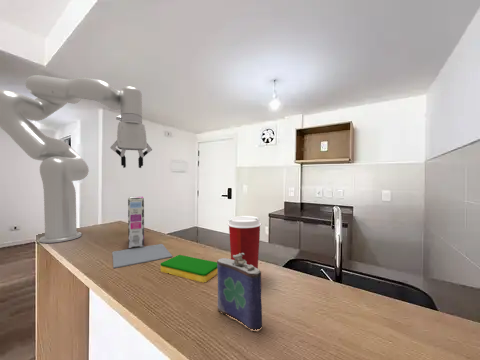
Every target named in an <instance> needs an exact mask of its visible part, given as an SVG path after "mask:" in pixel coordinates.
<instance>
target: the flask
mask: <svg viewBox="0 0 480 360" xmlns="http://www.w3.org/2000/svg"><path fill="white" fill-rule="evenodd" d="M241 254H242V255H244V253H239V254H237V255H233V258H234V259H235V260H231V258H228V257H222V258H219V259H217V261H216V262H217V268H218V274H217V310H219V311H220V312H222V313H225V314H227V315H229V316H231V317H233V318H235V319H237V320H238V321H240V322H242V323H243V324H244V325H246V326H247V327H248V328H250V329H253V330H255V329H256V330H257V329H260V328H261V327H262V328H263V312H262V311H263V310H262V309H263V307H262V271H261V270H260V269H259V268H258V269H257V268H255V267H254V266H253V265H248V264H246V263H247V261H245V260H244V259H242V255H241ZM219 311H218V312H219ZM220 312H219V313H220ZM238 321H237V322H238ZM244 325H243V326H244Z"/></svg>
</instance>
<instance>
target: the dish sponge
mask: <svg viewBox="0 0 480 360" xmlns="http://www.w3.org/2000/svg"><path fill="white" fill-rule="evenodd" d="M160 273H165V274H168V273H169V274H168V275H172V276H176V277H180V278H184V279H188V280H191V281H196V282H200V283H203V284H204V282H205V283H207V282H208V281H210V280H211V279H213V278H214V277H216V276H218V268H217V261H212V260H207V259H203V258H197V257H193V256H188V255H184V254H183V255H182V254H177V255H176V256H174V257H173V256H172V257H170V258H168V259H166V260H165V261H162V262H160Z"/></svg>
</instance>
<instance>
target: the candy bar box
mask: <svg viewBox="0 0 480 360" xmlns="http://www.w3.org/2000/svg"><path fill="white" fill-rule="evenodd" d="M127 209H128V210H127V213H128V214H127V217H128V218H127V220H128V223H127V227H128V228H127V231H128V234H127V235H128V239H127V240H128V243H127V244H128V245H127V246H128V248H127V249H132V248H138V247H145V201H144V196H129V197H128V198H127Z"/></svg>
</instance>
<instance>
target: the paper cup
mask: <svg viewBox="0 0 480 360" xmlns="http://www.w3.org/2000/svg"><path fill="white" fill-rule="evenodd" d="M226 225H227V226H228V233H229V245H230V259H231V260H235V259H234V258H233V255H237V254H239V253H244V255H242V254H241V255H242V259H244V260H245V261H247V263H246V264H248V265H253V266H254V267H255V268H257V269H259V254H260V235H261V234H260V232H261V225H262V223H261V220H260V218H259V216H253V215H238V216H232V217H230V218H229V220H228V222H227V224H226Z"/></svg>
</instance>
